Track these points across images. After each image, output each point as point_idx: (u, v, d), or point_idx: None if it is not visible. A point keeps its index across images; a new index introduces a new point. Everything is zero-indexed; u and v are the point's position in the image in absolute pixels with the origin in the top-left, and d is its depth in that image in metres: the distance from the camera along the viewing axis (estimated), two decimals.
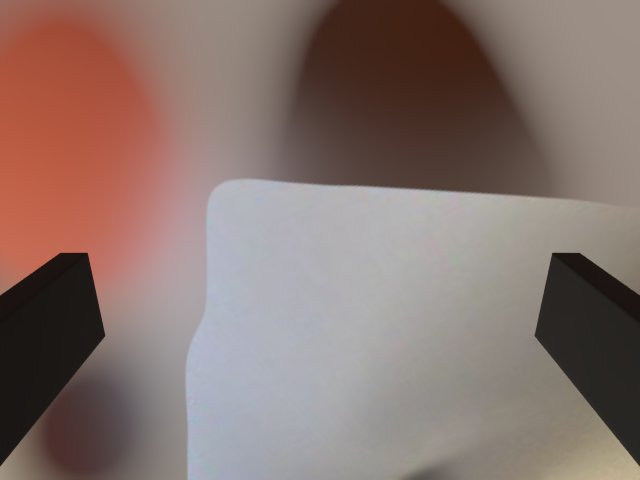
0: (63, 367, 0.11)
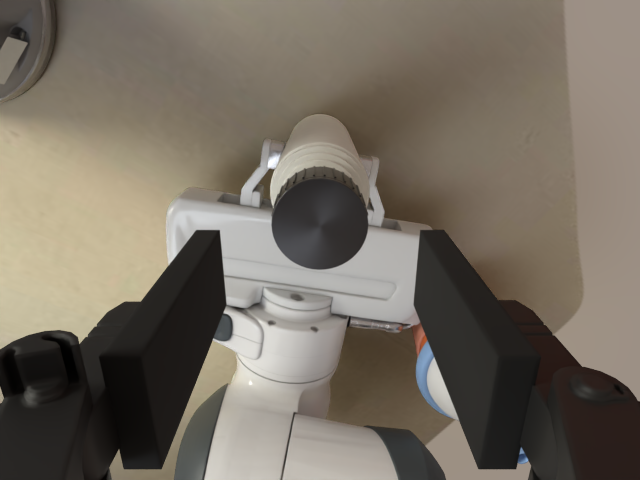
0: (211, 326, 0.13)
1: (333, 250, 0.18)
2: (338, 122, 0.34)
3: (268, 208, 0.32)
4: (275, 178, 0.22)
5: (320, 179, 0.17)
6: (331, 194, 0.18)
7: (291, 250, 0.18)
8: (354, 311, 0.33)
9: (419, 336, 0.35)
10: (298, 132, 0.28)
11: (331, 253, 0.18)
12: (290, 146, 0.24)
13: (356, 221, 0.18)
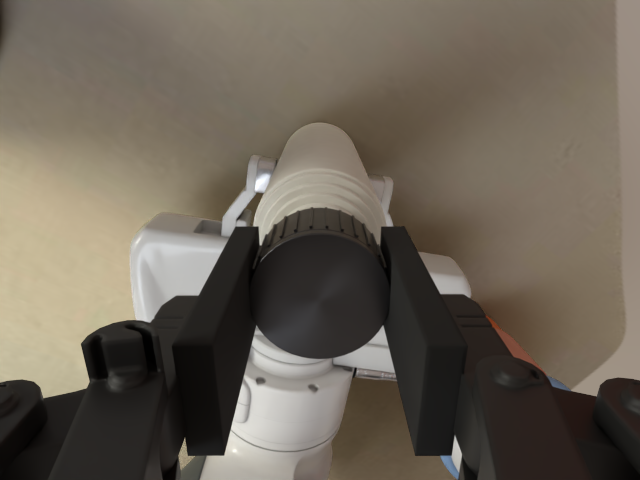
0: (253, 320, 0.13)
1: (339, 333, 0.13)
2: (342, 133, 0.28)
3: None
4: (259, 217, 0.16)
5: (320, 234, 0.12)
6: (336, 256, 0.12)
7: (278, 333, 0.13)
8: (361, 362, 0.27)
9: None
10: (292, 148, 0.22)
11: (336, 337, 0.13)
12: (281, 170, 0.18)
13: (373, 293, 0.12)
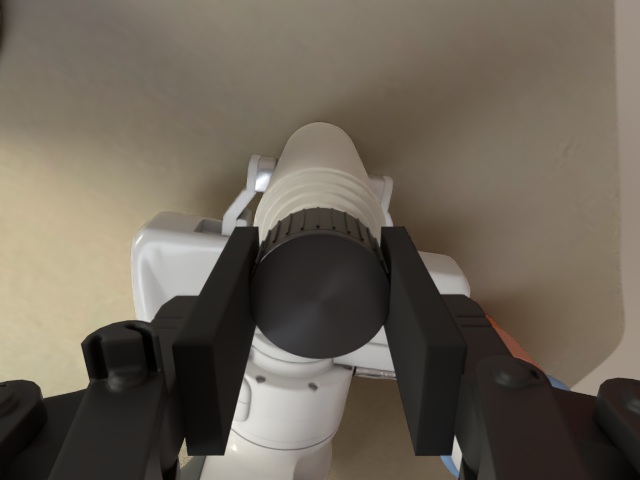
0: (253, 320, 0.13)
1: (352, 272, 0.12)
2: (342, 133, 0.28)
3: None
4: (260, 215, 0.16)
5: (253, 317, 0.12)
6: (268, 298, 0.12)
7: (367, 326, 0.13)
8: (361, 361, 0.27)
9: None
10: (293, 148, 0.23)
11: (357, 273, 0.12)
12: (281, 169, 0.19)
13: (296, 254, 0.12)
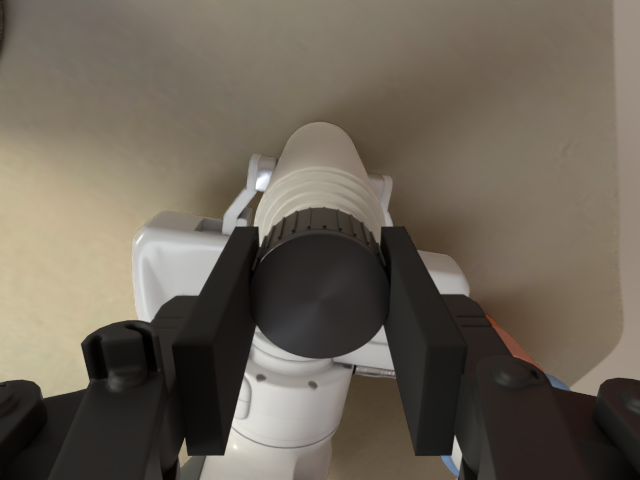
0: (253, 320, 0.13)
1: (280, 280, 0.12)
2: (342, 132, 0.28)
3: None
4: (260, 214, 0.17)
5: (355, 350, 0.13)
6: (331, 341, 0.13)
7: (335, 248, 0.12)
8: (361, 360, 0.28)
9: None
10: (293, 147, 0.23)
11: (280, 275, 0.12)
12: (281, 169, 0.19)
13: (279, 330, 0.13)
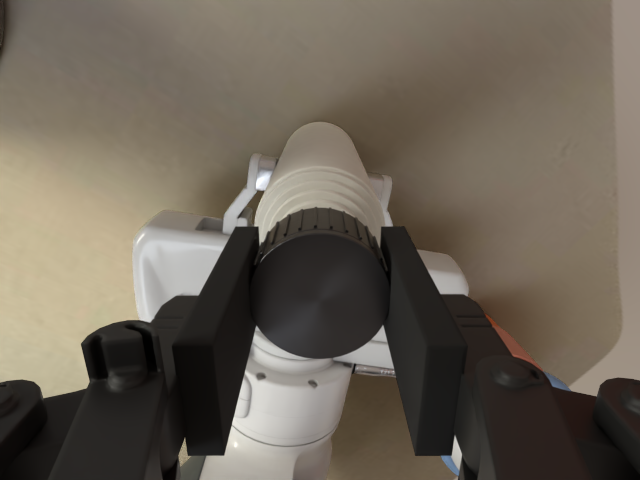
0: (253, 320, 0.13)
1: (310, 336, 0.13)
2: (341, 132, 0.28)
3: None
4: (260, 213, 0.17)
5: (368, 251, 0.12)
6: (364, 277, 0.12)
7: (262, 301, 0.12)
8: (361, 358, 0.28)
9: None
10: (293, 147, 0.23)
11: (304, 337, 0.13)
12: (281, 168, 0.19)
13: (364, 325, 0.13)
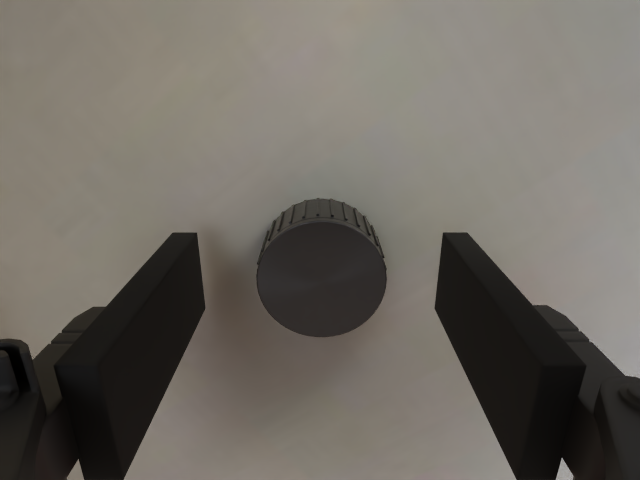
0: (185, 331, 0.12)
1: (312, 316, 0.14)
2: None
3: None
4: None
5: (365, 237, 0.13)
6: (362, 261, 0.13)
7: (269, 283, 0.13)
8: None
9: None
10: None
11: (308, 317, 0.14)
12: None
13: (362, 305, 0.14)
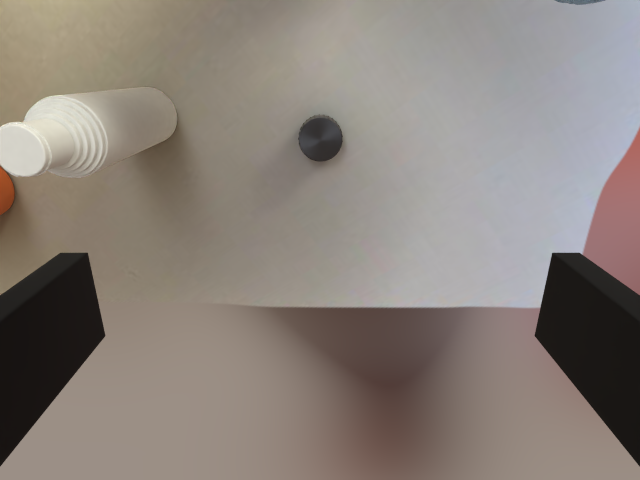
0: (63, 367, 0.11)
1: (317, 152, 0.41)
2: (161, 140, 0.41)
3: None
4: (80, 108, 0.27)
5: (334, 123, 0.40)
6: (333, 132, 0.40)
7: (303, 140, 0.41)
8: None
9: None
10: (142, 117, 0.34)
11: (315, 153, 0.41)
12: (116, 119, 0.30)
13: (334, 148, 0.41)
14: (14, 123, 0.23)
